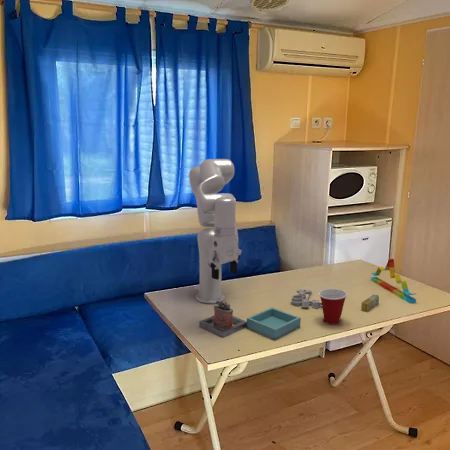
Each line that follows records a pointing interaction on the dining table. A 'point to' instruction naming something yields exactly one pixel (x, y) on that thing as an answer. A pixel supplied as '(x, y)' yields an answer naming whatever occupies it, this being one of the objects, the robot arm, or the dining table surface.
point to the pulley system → (304, 300)
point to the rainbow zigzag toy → (397, 292)
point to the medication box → (370, 303)
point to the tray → (273, 323)
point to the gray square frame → (223, 333)
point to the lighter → (223, 315)
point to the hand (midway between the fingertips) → (224, 275)
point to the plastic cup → (332, 304)
